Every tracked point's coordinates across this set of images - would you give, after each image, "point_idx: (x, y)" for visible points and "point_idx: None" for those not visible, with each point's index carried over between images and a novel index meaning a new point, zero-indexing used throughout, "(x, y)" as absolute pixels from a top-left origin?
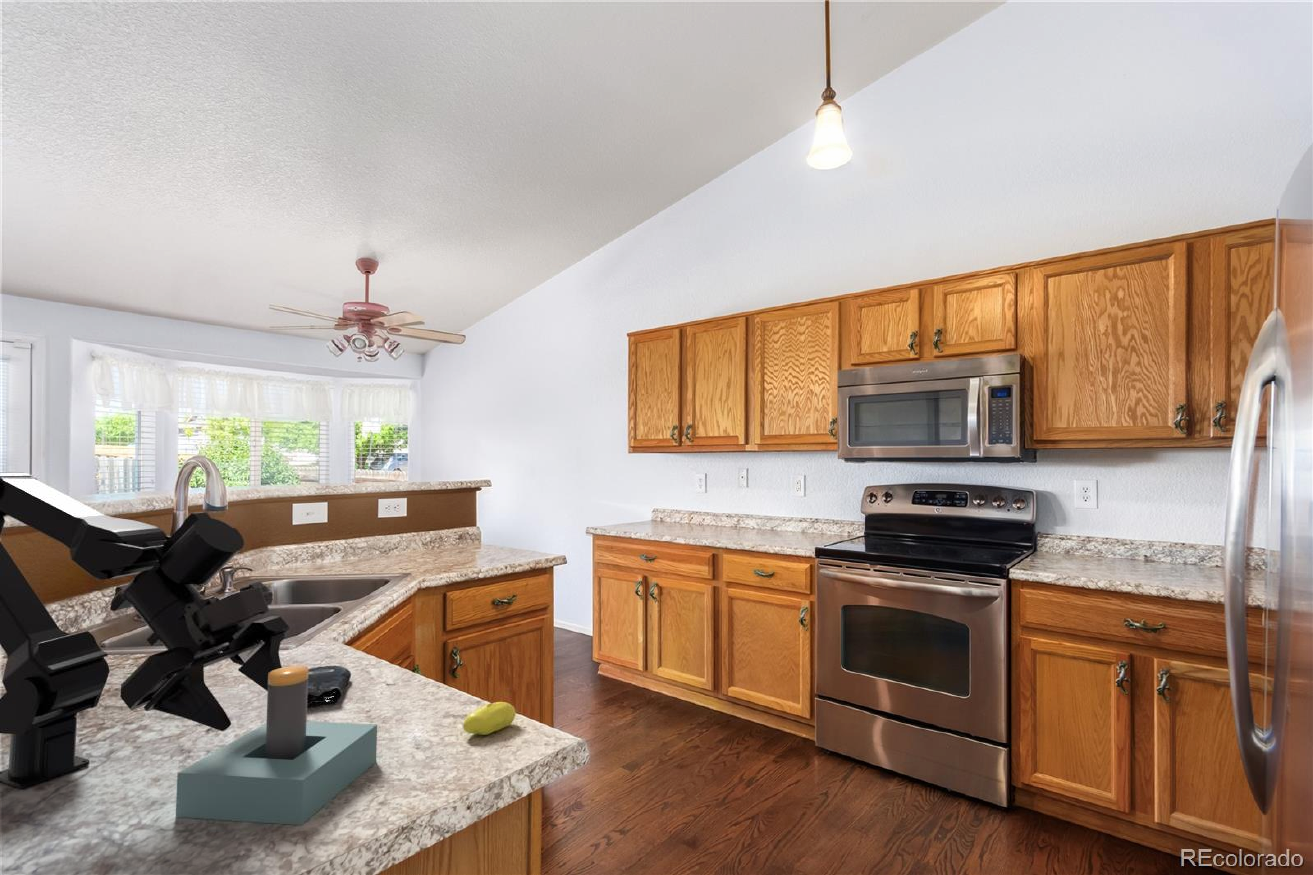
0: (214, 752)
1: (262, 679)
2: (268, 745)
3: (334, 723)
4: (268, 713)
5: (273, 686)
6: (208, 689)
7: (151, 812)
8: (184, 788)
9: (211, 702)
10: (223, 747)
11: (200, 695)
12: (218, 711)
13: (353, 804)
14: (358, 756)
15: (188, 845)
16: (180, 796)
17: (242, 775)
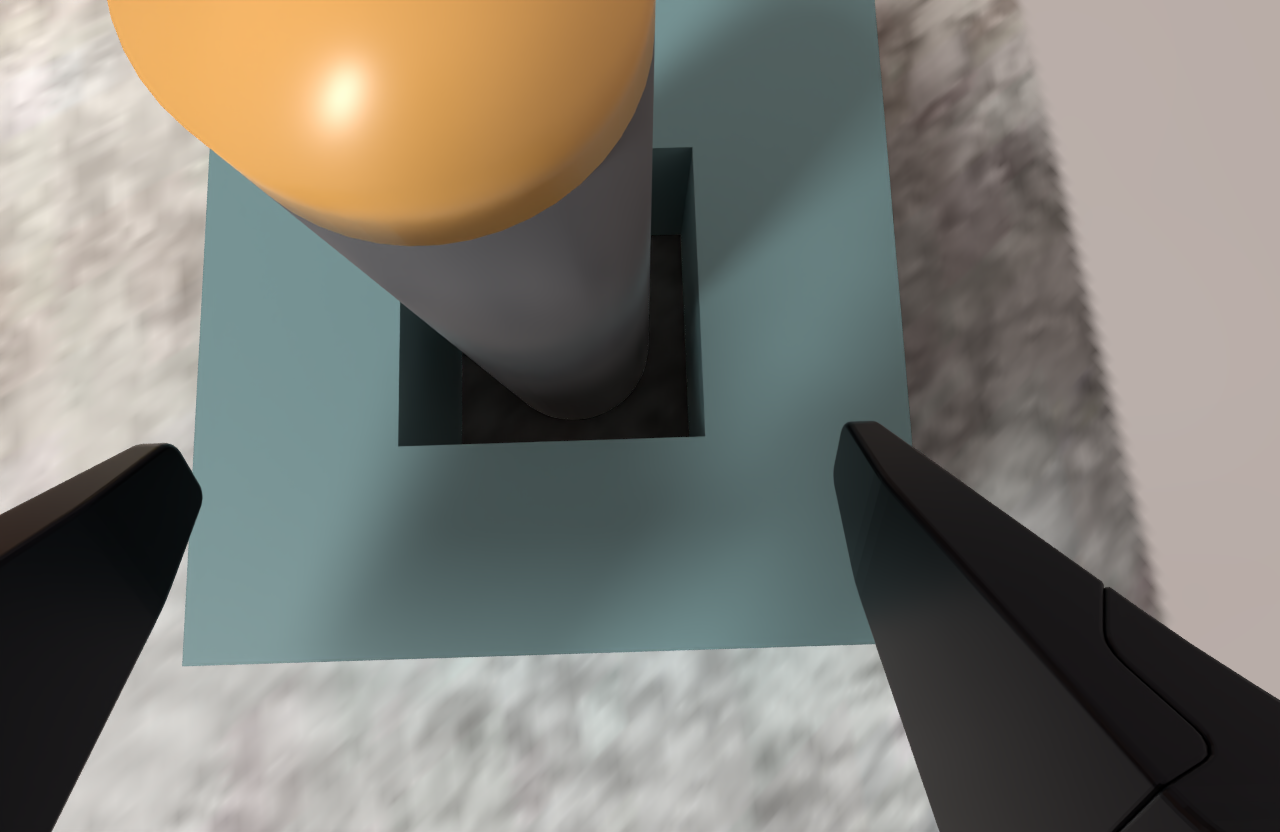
0: (674, 647)
1: (7, 786)
2: (643, 314)
3: (217, 232)
4: (636, 256)
5: (653, 57)
6: (1106, 700)
7: (838, 742)
8: None
9: (1054, 563)
10: (609, 646)
11: (1229, 678)
12: (967, 489)
13: None
14: None
15: (999, 389)
16: None
17: (886, 274)
